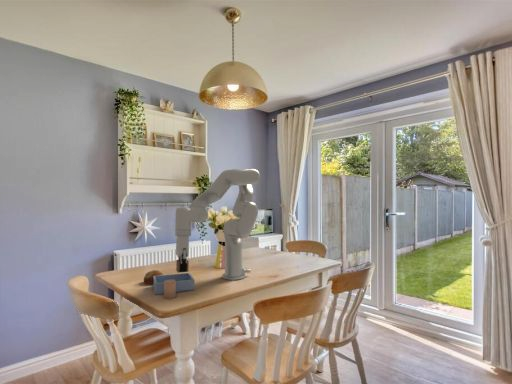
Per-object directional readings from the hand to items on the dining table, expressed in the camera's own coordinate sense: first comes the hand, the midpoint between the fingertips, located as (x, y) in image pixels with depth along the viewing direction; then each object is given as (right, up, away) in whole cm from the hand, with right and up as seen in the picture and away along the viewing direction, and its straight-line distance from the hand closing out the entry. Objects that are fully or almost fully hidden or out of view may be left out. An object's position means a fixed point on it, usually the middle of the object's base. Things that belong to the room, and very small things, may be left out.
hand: (182, 269), depth 148 cm
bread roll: (-16, -9, +8) cm, 20 cm away
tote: (-4, -8, -2) cm, 9 cm away
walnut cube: (0, -1, 0) cm, 1 cm away
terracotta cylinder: (-2, -9, -14) cm, 16 cm away
